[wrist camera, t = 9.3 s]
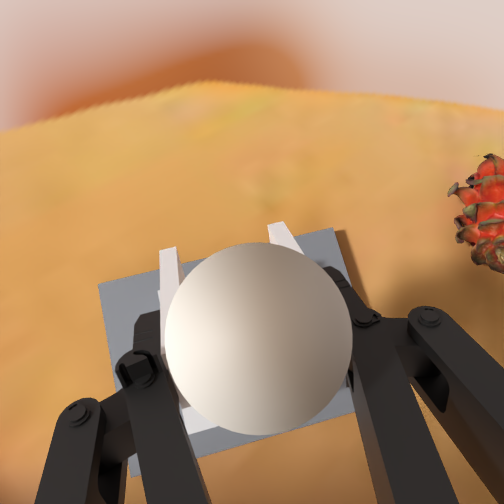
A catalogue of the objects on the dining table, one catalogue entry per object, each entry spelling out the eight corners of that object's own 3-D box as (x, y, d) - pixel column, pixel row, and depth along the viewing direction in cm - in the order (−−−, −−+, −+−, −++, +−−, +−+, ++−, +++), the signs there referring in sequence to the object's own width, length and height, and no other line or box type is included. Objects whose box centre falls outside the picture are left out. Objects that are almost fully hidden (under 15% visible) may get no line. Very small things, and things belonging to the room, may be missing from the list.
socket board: (135, 471, 32) (118, 494, 27) (103, 286, 36) (82, 277, 31) (382, 399, 34) (406, 408, 29) (329, 231, 38) (343, 215, 33)
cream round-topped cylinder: (216, 391, 21) (187, 460, 8) (198, 312, 22) (147, 266, 9) (293, 369, 21) (377, 404, 9) (272, 293, 22) (321, 225, 10)
